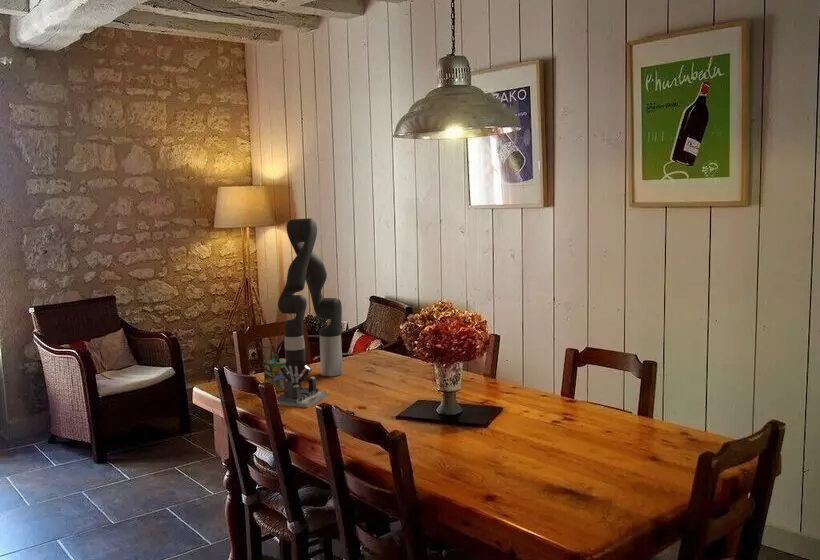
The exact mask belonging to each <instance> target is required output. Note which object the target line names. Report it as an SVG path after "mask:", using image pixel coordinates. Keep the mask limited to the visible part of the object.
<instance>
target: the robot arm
mask: <svg viewBox="0 0 820 560" xmlns="http://www.w3.org/2000/svg"><path fill="white" fill-rule="evenodd" d="M286 234H287V238H288V240H289V242H290V244H291V246H292V248H293V250H294V252H295V254H296V256H295V257H294V259H293V260H292V261H291V263H290V265H289V267H288V270H287V273H286V275H287V276H286V283H285V285H284V288H283V290H282V292H281V293H280V296H279V299H278V303H277V308H278V312H280V313H281V314H285V315H291V314H293V315H295V317H294V318H291V319H288V320H286V321H284V323H283V329H284V330H283V331H284V355H285V358H284V359H286V363H285V366H284V367H282V368H281V369H280V370H281V372H282V373H283V374H284V376H285V377H286V378H287V380H288V381H291V382H292V383H293V386H294V385H299V386H300V391H301V387H302V382H304V381H306V380H307V379H308V376H309V375H310V374H311V372H312V368H311V367H309V366H307V362H306V347H305V346H306V344H305V336H304V319H305V314H306V310H307V304H308V303H307V299H306V297H305V296H304V295H302V294H296V293H299V292H302V291H303V290H304V289H305V284H306V285H307V288H308V290H309V294H310V298H311V302H312V306H313V311H314V315H315V316H316V317H317V318H318V319H321V320H330V324H328V325H326V326H323V327H321V328H320V329H319V333H318V334H319V351H320V353H319V358H320V359H319V360H320V361H319V362H320V375H321V376H324V377H337V376H341V375H342V374H343V351H342V325H343V324H342V312H343V309H342V301H341V300H340V299H339V298H337V297H324V296H323V294H322V291H323V287H324V285H325V284H326V281H327V277H328V273H327V270H326V267H325V264H324V261H323V260H322V258H321V257H320V256H318V254H316V253H315V252H314V251H313V250H314V247H315V243H316V240H317V239H316V238H317V236H318V227H317V223H316V221H315V220H314V218H310V217H309V218H308V217H307V218H294V219H289V220H288V221H287V223H286ZM288 370H289V371H288ZM303 372H304V373H303Z"/></svg>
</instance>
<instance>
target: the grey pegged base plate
mask: <svg viewBox="0 0 820 560" xmlns="http://www.w3.org/2000/svg"><path fill="white" fill-rule="evenodd" d="M307 379H308V381H307V382H308V387H305V386H301V391H300V386H299V385H294V386H293V387H292V394H290V393H284V392H282V394H279V396H277V400H278V403H279V405H278V406H287V407H295V406H296V407H297V408H304V407H308V408H309V406H310V407H311V406H313V405H315V404H317V403H318V402H320V401H323V400H324V399H326V398H327V397H329V393H328V392H326V391H320V390H319V387H317V378H316V377H315V376H311V377H309V378H307Z"/></svg>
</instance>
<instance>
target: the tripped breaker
mask: <svg viewBox="0 0 820 560" xmlns="http://www.w3.org/2000/svg"><path fill="white" fill-rule="evenodd" d="M283 393H290V394H292V382H291V381H288V380H287V379H286V380H285V381H284V391H283Z"/></svg>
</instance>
